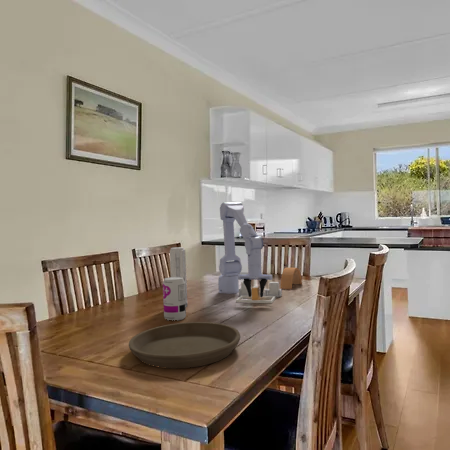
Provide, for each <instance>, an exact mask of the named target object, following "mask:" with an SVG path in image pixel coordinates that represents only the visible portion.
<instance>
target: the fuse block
mask: <svg viewBox="0 0 450 450" xmlns="http://www.w3.org/2000/svg"><path fill="white" fill-rule="evenodd" d="M282 295H283V292H282V289H281V288H279V294H269V288H264V292H263V296H275V298H280V297H282ZM240 296H249V295H248V294H245V293H241V287H239V292H238V298H239V297H240ZM251 296H252V288H251Z"/></svg>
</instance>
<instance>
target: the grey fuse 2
mask: <svg viewBox="0 0 450 450" xmlns="http://www.w3.org/2000/svg"><path fill="white" fill-rule="evenodd" d="M268 289H269V294H279V289H280V283H279V281H270V282H269V283H268Z"/></svg>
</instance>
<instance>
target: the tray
mask: <svg viewBox="0 0 450 450" xmlns="http://www.w3.org/2000/svg"><path fill="white" fill-rule="evenodd" d="M264 299H265V300H264ZM275 300H276V297H275V296H263V297H260V300H252V296H251V297H249V296H240V297H238V298H236V299H235V303H238V304H239V303H245V304H246V303H248V304H273V302H274V301H275Z"/></svg>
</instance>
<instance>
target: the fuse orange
mask: <svg viewBox="0 0 450 450" xmlns="http://www.w3.org/2000/svg"><path fill="white" fill-rule="evenodd" d="M251 289H252V298H251V300H261V299H260V285H256V286H255V285H254V286H251Z"/></svg>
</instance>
